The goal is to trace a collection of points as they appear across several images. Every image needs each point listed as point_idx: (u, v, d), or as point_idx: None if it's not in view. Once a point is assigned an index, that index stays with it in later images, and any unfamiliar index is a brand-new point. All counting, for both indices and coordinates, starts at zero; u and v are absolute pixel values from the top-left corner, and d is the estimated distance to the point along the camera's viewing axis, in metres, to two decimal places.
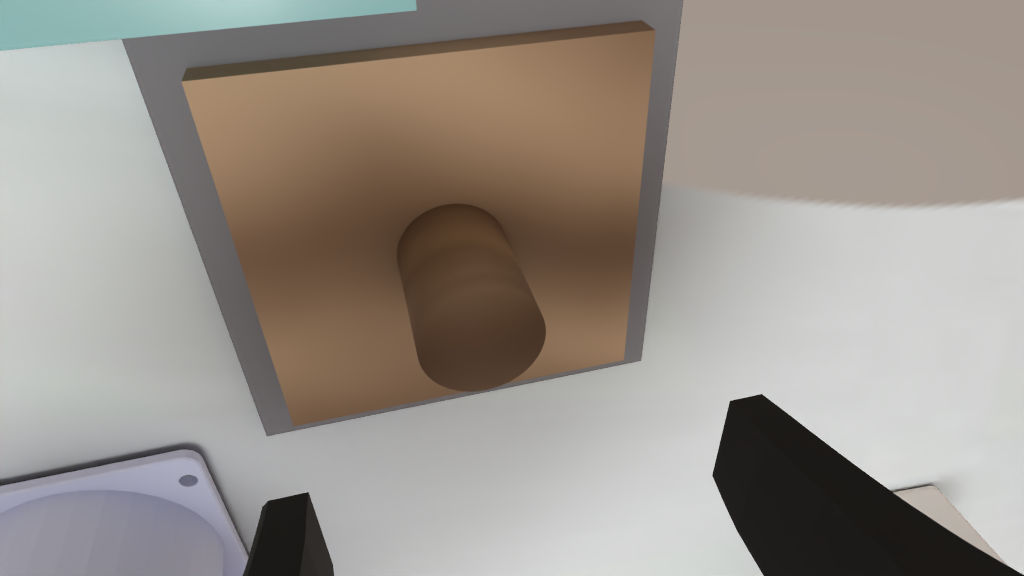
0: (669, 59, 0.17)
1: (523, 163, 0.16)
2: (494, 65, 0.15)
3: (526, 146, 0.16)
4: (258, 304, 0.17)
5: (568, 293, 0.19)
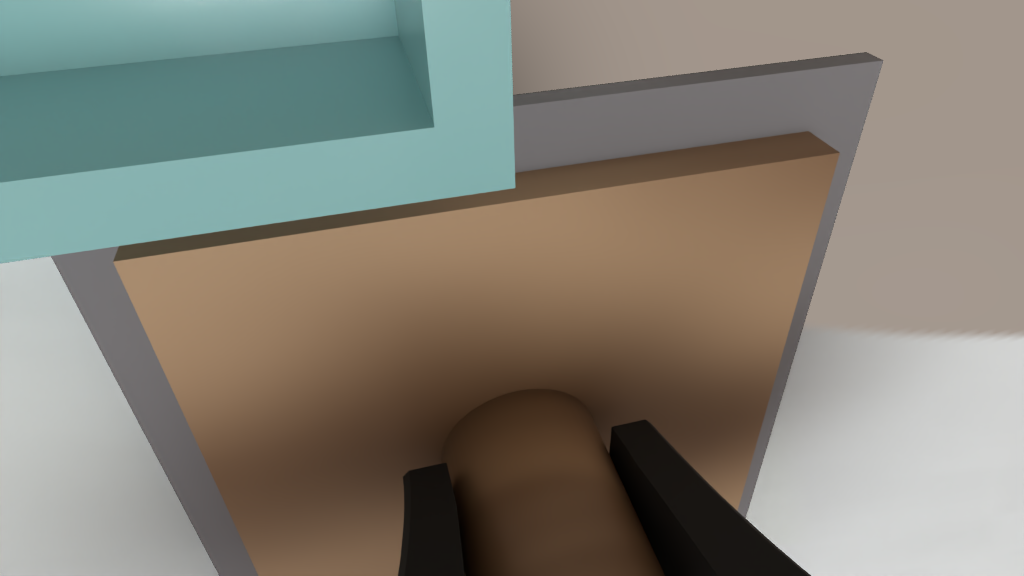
0: (838, 180, 0.11)
1: (629, 334, 0.11)
2: (601, 212, 0.10)
3: (635, 312, 0.11)
4: (243, 528, 0.12)
5: None
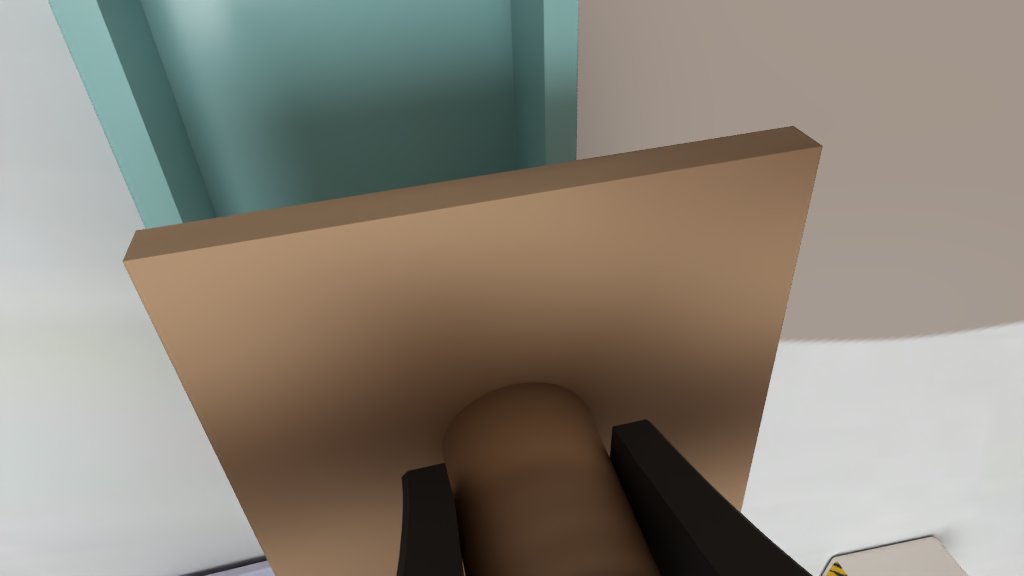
0: None
1: (621, 328, 0.12)
2: (586, 208, 0.10)
3: (626, 306, 0.11)
4: (254, 519, 0.12)
5: None
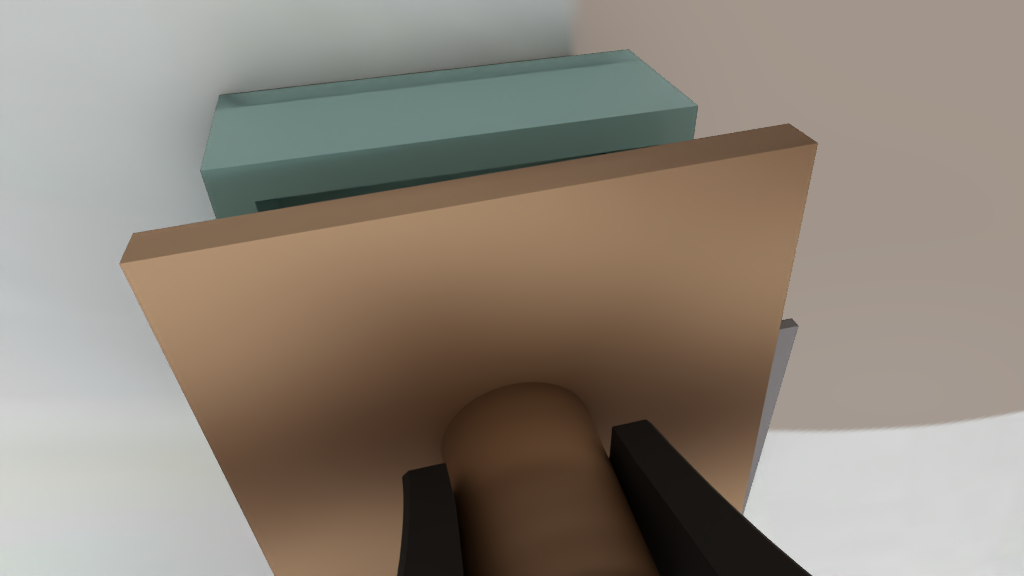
0: (780, 371, 0.23)
1: (618, 327, 0.12)
2: (582, 207, 0.10)
3: (623, 305, 0.11)
4: (253, 521, 0.12)
5: None
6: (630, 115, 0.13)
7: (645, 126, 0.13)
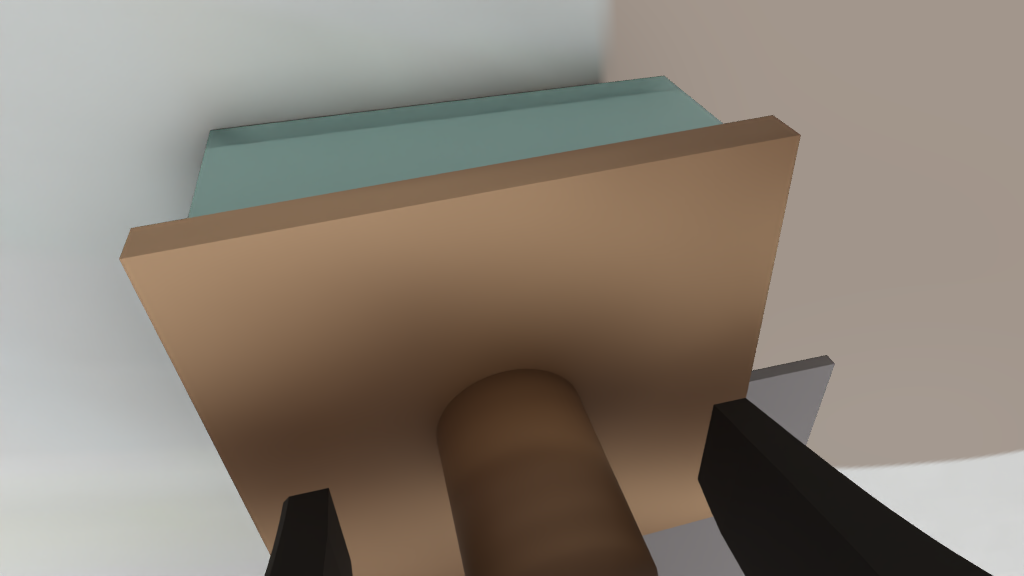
0: (813, 410, 0.22)
1: (608, 315, 0.12)
2: (573, 198, 0.10)
3: (612, 294, 0.12)
4: (252, 507, 0.12)
5: (658, 453, 0.15)
6: None
7: None
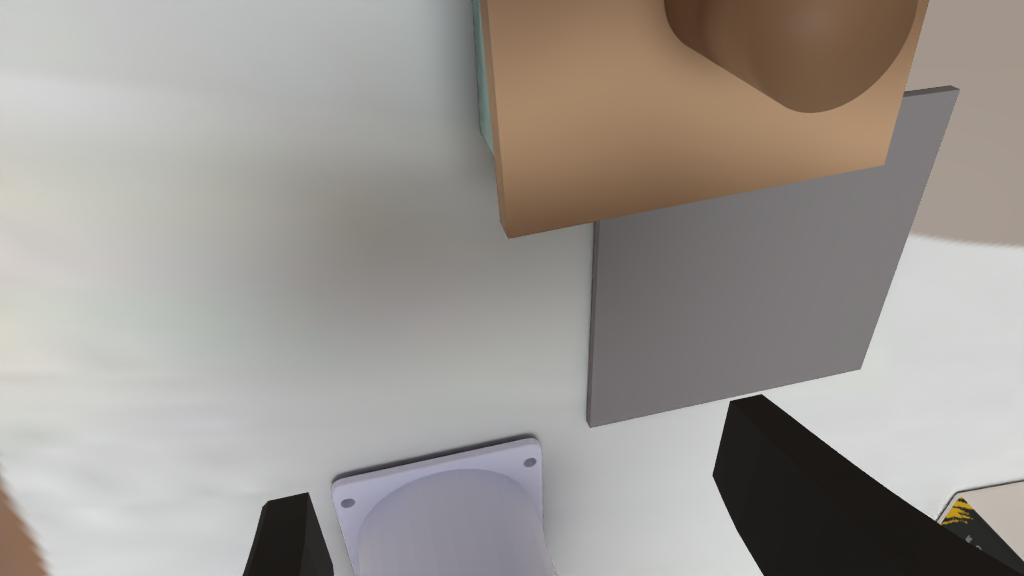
0: (934, 148, 0.23)
1: None
2: None
3: None
4: (496, 48, 0.13)
5: None
6: None
7: None
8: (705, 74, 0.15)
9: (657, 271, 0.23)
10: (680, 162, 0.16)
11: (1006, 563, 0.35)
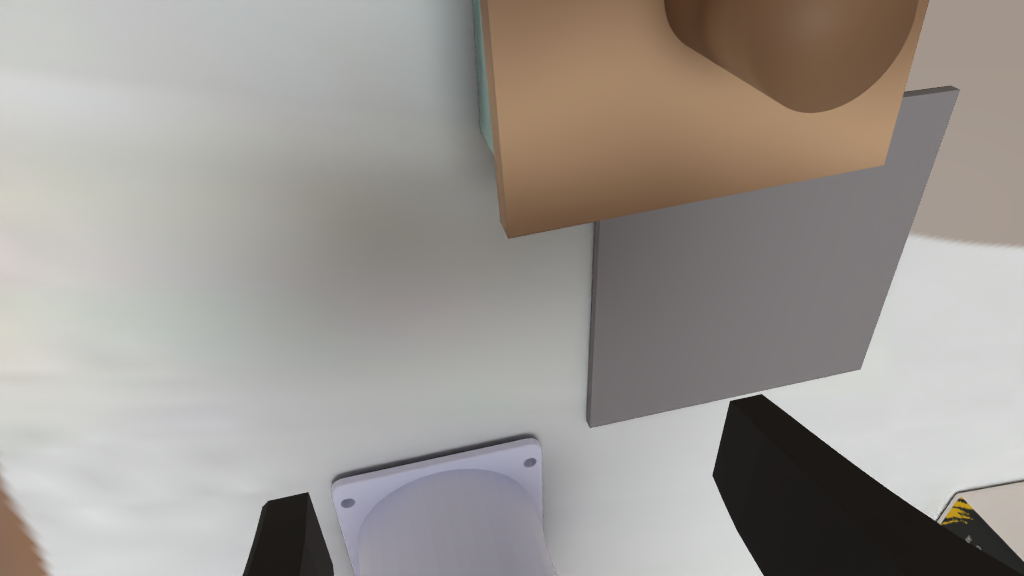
0: (934, 148, 0.23)
1: None
2: None
3: None
4: (496, 48, 0.13)
5: None
6: None
7: None
8: (705, 74, 0.15)
9: (657, 271, 0.23)
10: (679, 162, 0.16)
11: (1006, 563, 0.35)
